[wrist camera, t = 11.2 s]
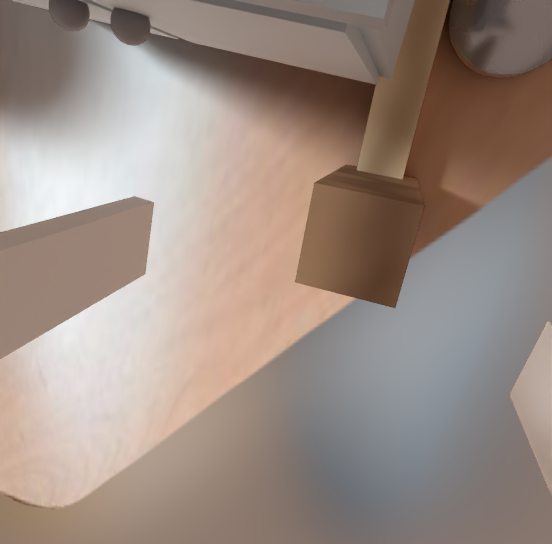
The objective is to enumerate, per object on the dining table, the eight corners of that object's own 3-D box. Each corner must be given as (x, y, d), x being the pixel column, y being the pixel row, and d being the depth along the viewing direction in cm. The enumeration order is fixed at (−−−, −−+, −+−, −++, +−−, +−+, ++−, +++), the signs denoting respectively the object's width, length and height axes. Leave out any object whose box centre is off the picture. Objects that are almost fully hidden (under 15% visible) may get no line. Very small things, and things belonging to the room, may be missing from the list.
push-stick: (331, 231, 33) (294, 282, 22) (403, -101, 26) (403, -273, 15) (398, 247, 32) (395, 308, 21) (492, -95, 25) (562, -274, 14)
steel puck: (432, 65, 28) (434, 60, 26) (473, -64, 26) (478, -79, 24) (546, 89, 27) (556, 86, 25) (601, -44, 24) (617, -58, 23)
